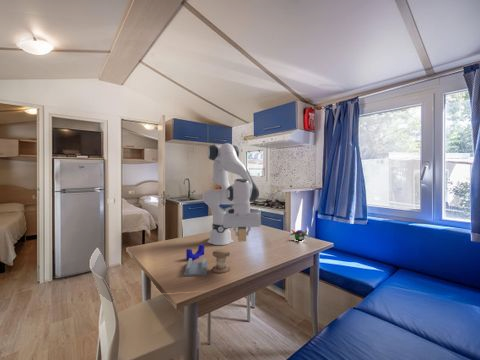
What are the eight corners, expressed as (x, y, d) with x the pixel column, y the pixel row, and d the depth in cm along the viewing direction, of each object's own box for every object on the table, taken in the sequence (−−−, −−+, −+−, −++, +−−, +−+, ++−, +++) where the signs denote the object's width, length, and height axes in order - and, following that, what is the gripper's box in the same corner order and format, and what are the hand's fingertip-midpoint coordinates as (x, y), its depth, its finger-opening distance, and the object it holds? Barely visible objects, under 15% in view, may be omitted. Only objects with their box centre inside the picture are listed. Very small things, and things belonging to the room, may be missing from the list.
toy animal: (305, 245, 161) (305, 232, 161) (288, 241, 172) (288, 228, 172) (313, 242, 168) (313, 230, 168) (296, 238, 179) (297, 226, 179)
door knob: (212, 266, 123) (212, 250, 123) (229, 265, 124) (229, 249, 124) (212, 273, 114) (212, 255, 114) (230, 272, 115) (230, 255, 115)
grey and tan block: (237, 239, 122) (237, 226, 122) (245, 239, 122) (245, 225, 122) (238, 241, 118) (238, 227, 118) (246, 241, 118) (246, 227, 118)
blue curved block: (191, 261, 131) (191, 251, 131) (186, 259, 134) (186, 249, 134) (205, 255, 141) (205, 245, 141) (200, 253, 144) (200, 244, 144)
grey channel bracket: (187, 263, 127) (187, 257, 127) (207, 262, 128) (207, 256, 128) (183, 276, 111) (183, 269, 111) (206, 275, 112) (206, 268, 112)
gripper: (259, 208, 124) (259, 233, 124) (222, 209, 122) (222, 234, 122) (262, 209, 118) (262, 236, 118) (223, 210, 116) (223, 237, 116)
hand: (241, 235), depth 120 cm, fingers closed on grey and tan block, 4 cm apart
